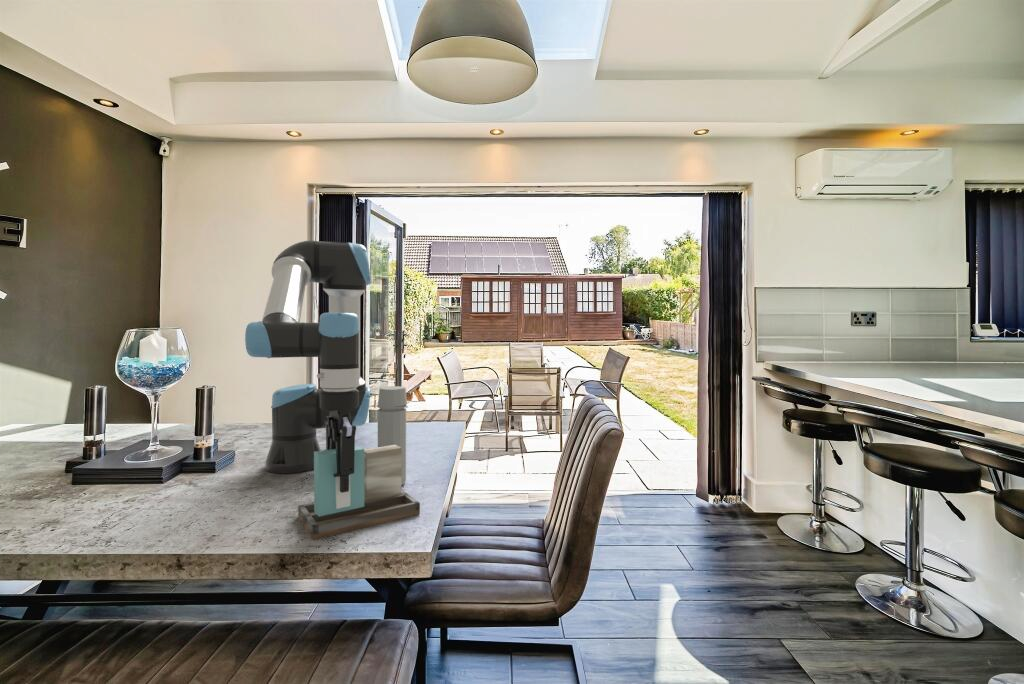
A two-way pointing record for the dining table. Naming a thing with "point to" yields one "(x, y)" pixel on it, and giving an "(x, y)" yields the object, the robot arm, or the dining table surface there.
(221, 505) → the dining table surface
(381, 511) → the track base
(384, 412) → the water bottle
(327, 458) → the teal door
